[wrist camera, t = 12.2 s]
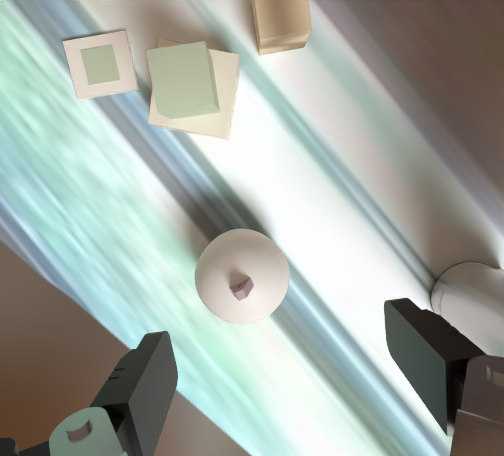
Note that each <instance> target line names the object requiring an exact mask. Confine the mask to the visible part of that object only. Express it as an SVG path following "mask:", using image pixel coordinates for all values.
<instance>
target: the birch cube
mask: <svg viewBox="0 0 504 456" xmlns="http://www.w3.org/2000/svg"><path fill="white" fill-rule="evenodd" d="M252 10H253V17H254V23H255V30H256V37H257V44H258V51H259V55H265V54H270V53H276V52H281V51H287V50H292V49H298V48H303V47H304V46H305V43H306V41H307V39H308V37H309V35H310V33H311V30H312V27H311V18H310V9H309V0H252Z"/></svg>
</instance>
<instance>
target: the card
mask: <svg viewBox="0 0 504 456" xmlns="http://www.w3.org/2000/svg"><path fill="white" fill-rule="evenodd" d="M63 44H64V48H65V52H66V56H67V60H68V64H69V68H70V71H71V75H72V79H73V83H74V87H75V91H76V95H77V99H79V100H83V99H89V98H95V97H101V96H106V95H112V94H118V93H124V92H130V91H136V90H139V85H138V81H137V76H136V72H135V67H134V62H133V58H132V53H131V48H130V44H129V39H128V34H127V32H126V31H119V32H113V33H108V34H102V35H96V36H91V37H85V38H79V39H73V40H68V41H63Z"/></svg>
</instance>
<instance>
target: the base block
mask: <svg viewBox="0 0 504 456" xmlns="http://www.w3.org/2000/svg"><path fill="white" fill-rule="evenodd" d="M182 44H183V43H178V42H173V41H168V40H163V39H158V38H157V47H156V48H162V47H169V46H175V45H182ZM208 50H209V53H210V55H211V57H212V61H213V68H214V74H215V81H216V87H217V94H218V101H219V107H220V113H214V114H207V115H200V116H193V117H186V118H179V119H173V120H172V119H169V118H167V117H165V116H163V115H161V114H159V113H158V112H157V107H156V102H155V97H154V92H153V87H152V95H151V104H150V114H149V123H148V124H151V125H154V126H157V127H160V128H164V129H170V130H175V131H180V132H186V133H191V134H196V135H202V136H207V137H212V138H218V139H223V140H228V141H229V137H230V131H231V125H232V119H233V112H234V106H235V100H236V94H237V87H238V81H239V75H240V69H241V68H240V60H239V54H233V53H228V52H223V51H218V50H213V49H208Z"/></svg>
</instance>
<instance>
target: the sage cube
mask: <svg viewBox="0 0 504 456" xmlns="http://www.w3.org/2000/svg"><path fill="white" fill-rule="evenodd" d="M146 56H147V61H148V66H149V71H150V76H151V81H152V87H153V92H154V97H155V102H156V107H157V112H158V113H159V114H161V115H163V116H165V117H167V118H169V119H172V120H173V119H179V118H186V117H193V116H200V115H207V114H214V113H220V107H219V101H218V94H217V87H216V81H215V74H214V68H213V61H212V57H211V55H210V53H209V50H208V48H207V45H206V43H205V41H201V42H195V43H188V44H182V45H175V46H169V47H162V48H156V49H149V50H146Z"/></svg>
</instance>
